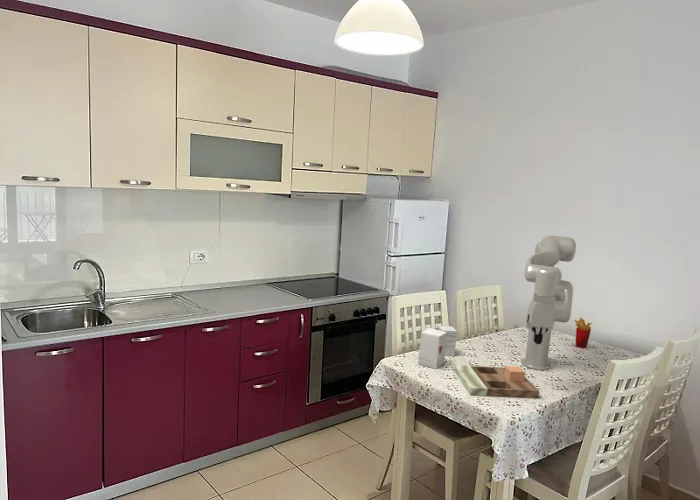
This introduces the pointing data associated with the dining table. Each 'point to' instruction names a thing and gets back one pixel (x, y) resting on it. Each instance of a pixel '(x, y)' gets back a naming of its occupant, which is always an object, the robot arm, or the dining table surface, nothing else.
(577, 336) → the french fries
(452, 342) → the supplement box
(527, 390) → the board
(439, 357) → the supplement box
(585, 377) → the dining table surface
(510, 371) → the terracotta block
